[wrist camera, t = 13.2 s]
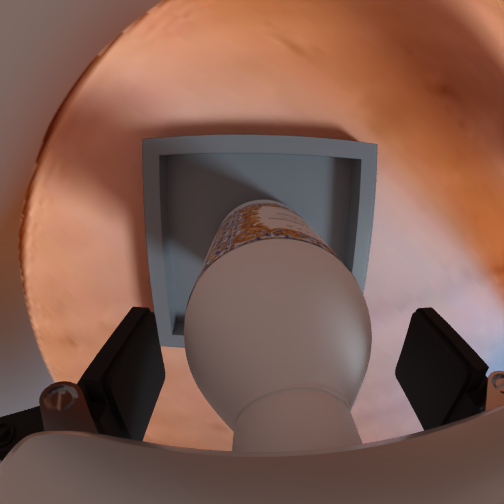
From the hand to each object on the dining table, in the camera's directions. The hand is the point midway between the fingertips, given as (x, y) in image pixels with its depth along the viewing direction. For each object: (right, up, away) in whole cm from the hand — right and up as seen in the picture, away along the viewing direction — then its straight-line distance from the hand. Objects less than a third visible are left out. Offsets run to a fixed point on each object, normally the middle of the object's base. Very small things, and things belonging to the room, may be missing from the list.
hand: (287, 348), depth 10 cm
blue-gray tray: (-1, +4, +13) cm, 14 cm away
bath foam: (0, +4, +12) cm, 13 cm away
